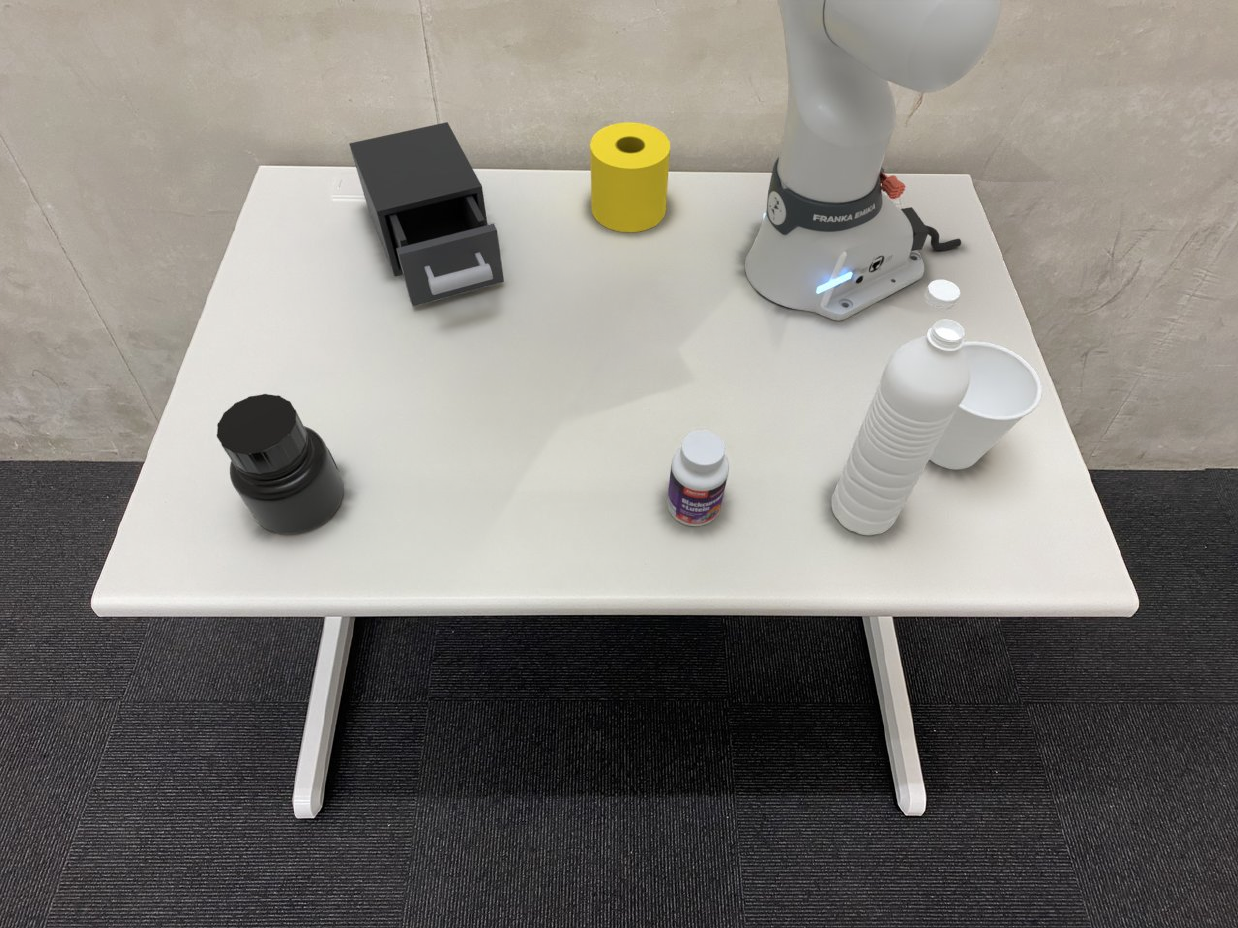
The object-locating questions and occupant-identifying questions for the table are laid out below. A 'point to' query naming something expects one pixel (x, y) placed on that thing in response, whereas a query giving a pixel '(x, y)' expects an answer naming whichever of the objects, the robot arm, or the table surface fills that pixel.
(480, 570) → the table surface
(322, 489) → the ink bottle
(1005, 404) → the cup
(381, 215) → the cabinet
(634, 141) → the yellow toilet paper roll
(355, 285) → the table surface
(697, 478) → the pill bottle
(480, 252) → the drawer
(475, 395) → the table surface
